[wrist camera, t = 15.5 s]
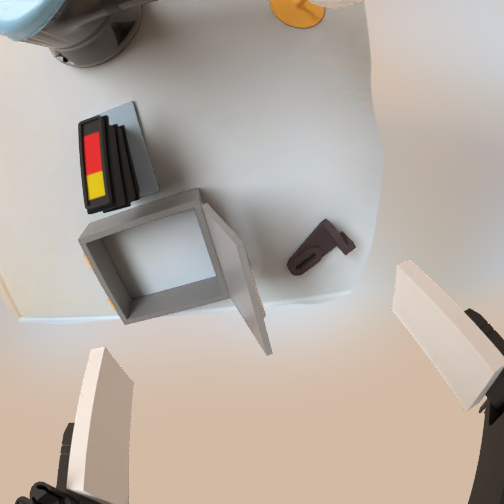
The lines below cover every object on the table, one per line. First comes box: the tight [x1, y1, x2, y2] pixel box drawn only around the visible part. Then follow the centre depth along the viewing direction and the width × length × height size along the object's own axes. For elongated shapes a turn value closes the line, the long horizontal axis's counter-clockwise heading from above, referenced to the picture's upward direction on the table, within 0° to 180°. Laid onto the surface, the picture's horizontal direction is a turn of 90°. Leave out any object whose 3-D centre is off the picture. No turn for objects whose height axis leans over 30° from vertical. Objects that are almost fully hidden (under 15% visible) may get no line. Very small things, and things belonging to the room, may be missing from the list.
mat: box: [94, 101, 160, 197], centre depth 40 cm, size 15×8×1 cm, turn 12°
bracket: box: [287, 219, 356, 275], centre depth 53 cm, size 6×12×5 cm, turn 128°
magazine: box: [78, 115, 140, 214], centre depth 35 cm, size 4×13×15 cm, turn 7°
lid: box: [202, 203, 272, 356], centre depth 38 cm, size 17×14×1 cm
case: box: [78, 188, 266, 325], centre depth 43 cm, size 18×25×16 cm
